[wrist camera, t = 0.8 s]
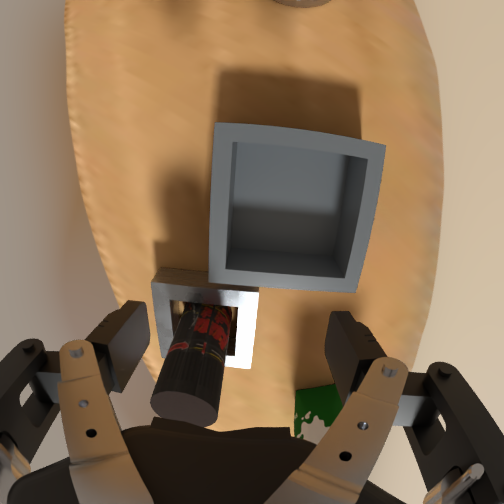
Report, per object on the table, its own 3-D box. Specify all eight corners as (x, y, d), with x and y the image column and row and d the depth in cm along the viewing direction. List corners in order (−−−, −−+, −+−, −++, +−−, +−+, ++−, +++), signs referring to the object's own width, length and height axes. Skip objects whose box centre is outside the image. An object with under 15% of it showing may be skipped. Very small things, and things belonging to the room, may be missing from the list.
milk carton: (289, 387, 40) (297, 503, 21) (345, 378, 39) (372, 489, 20) (293, 415, 43) (300, 513, 25) (343, 406, 42) (362, 502, 24)
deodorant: (233, 331, 35) (221, 430, 21) (189, 330, 35) (160, 423, 22) (230, 292, 33) (212, 394, 19) (181, 292, 33) (141, 387, 19)
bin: (224, 125, 25) (214, 122, 20) (361, 142, 25) (386, 145, 20) (217, 255, 31) (208, 282, 25) (340, 265, 31) (355, 292, 25)
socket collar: (160, 267, 32) (150, 281, 28) (259, 276, 32) (258, 292, 28) (168, 340, 36) (161, 357, 33) (251, 350, 36) (250, 368, 33)
